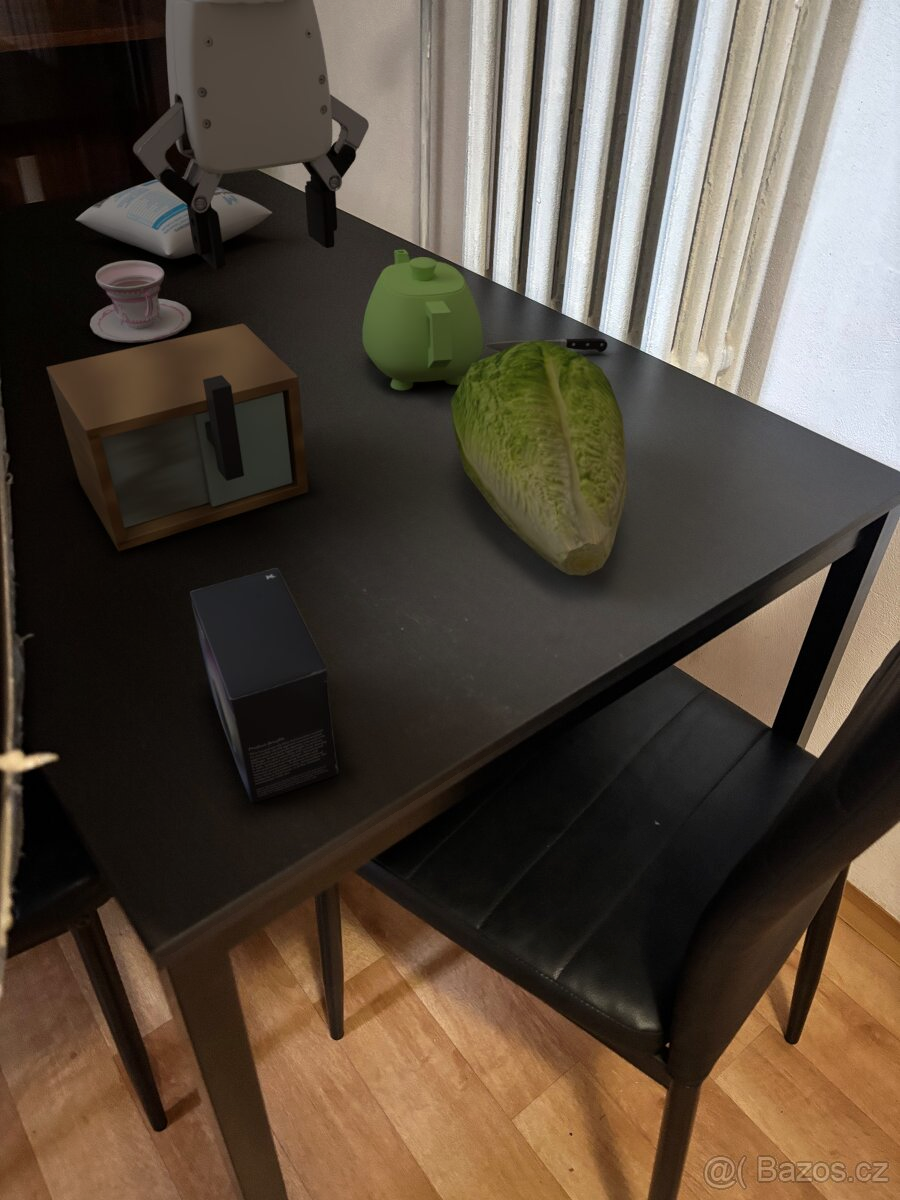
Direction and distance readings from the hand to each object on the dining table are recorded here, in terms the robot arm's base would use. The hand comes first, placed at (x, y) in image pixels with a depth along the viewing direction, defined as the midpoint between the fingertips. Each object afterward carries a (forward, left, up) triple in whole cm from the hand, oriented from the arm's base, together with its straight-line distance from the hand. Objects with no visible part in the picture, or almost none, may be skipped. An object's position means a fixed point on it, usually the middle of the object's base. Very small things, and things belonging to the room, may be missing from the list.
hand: (268, 251), depth 67 cm
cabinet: (-6, +9, -24) cm, 26 cm away
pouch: (+14, +69, -24) cm, 74 cm away
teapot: (+25, +19, -24) cm, 39 cm away
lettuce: (+20, -11, -24) cm, 33 cm away
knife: (+39, +14, -24) cm, 48 cm away
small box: (-12, -23, -24) cm, 36 cm away
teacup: (+1, +46, -24) cm, 51 cm away
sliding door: (-3, +1, -23) cm, 23 cm away
